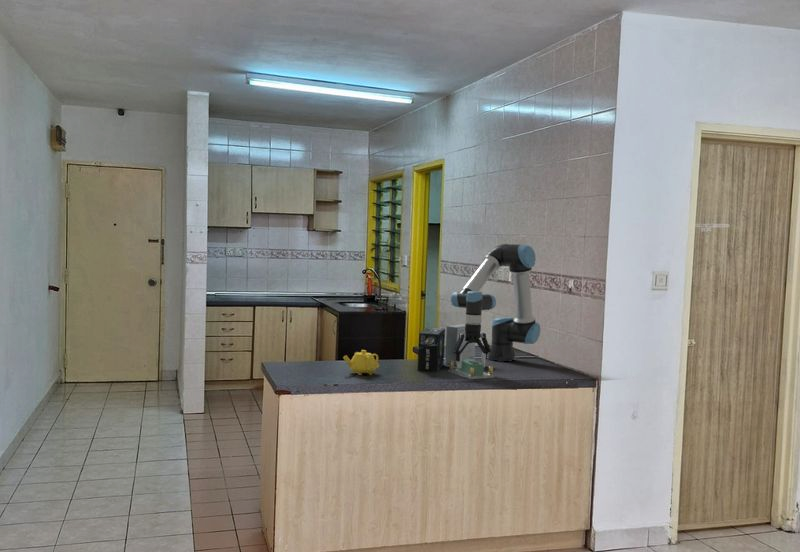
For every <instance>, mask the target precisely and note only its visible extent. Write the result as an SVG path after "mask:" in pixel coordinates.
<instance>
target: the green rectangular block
mask: <svg viewBox="0 0 800 552" xmlns="http://www.w3.org/2000/svg"><path fill="white" fill-rule="evenodd" d="M470 367H474V375H483V372H485V371H484V370H485V367H484V364H482V363H481V361H477V360H476V359H475V360H473V359H462V365H461V369H460V368H459V370H461V371H463V372H465V373H467V374H469V375H470Z"/></svg>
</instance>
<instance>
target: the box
mask: <svg viewBox="0 0 800 552" xmlns="http://www.w3.org/2000/svg"><path fill="white" fill-rule="evenodd" d="M445 344H446V328H443V327H442V328H440V327H439V328H438V327H426V328H425V329H423V330H422V331H420V332H419V333H418V350H417V351H418V353H417V372H428V373H437V372H439V371H440V369H441V368H442V367H443V366H444V365H445V363H444V358H445Z"/></svg>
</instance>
